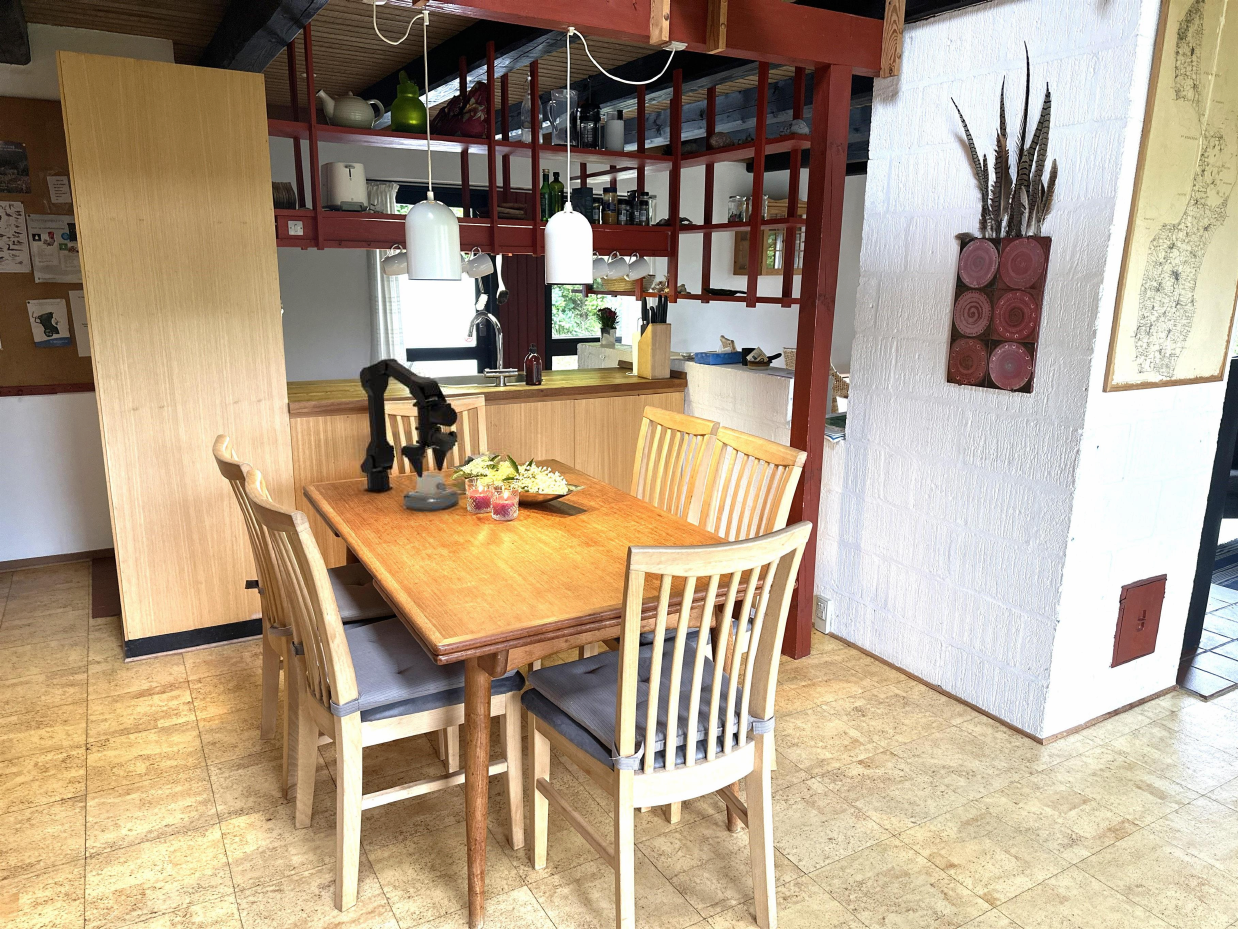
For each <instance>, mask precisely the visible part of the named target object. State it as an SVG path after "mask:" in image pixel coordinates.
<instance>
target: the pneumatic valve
mask: <svg viewBox="0 0 1238 929" xmlns="http://www.w3.org/2000/svg"><path fill="white" fill-rule="evenodd" d="M487 455H488V456H490V457H492V456H498V454H496V453H494V452H493V453H485V452H481V454H476V455H473V454H472V455H467V458H466V460H464V461H463V467H464V466H466V465H468V464H469V463H470V462H472V461H473V460H475V459H478V458H481V457H484V456H487Z"/></svg>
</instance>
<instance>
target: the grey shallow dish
mask: <svg viewBox="0 0 1238 929" xmlns="http://www.w3.org/2000/svg"><path fill="white" fill-rule="evenodd" d="M403 504H404V505H403V506H405V507H406V508H405V507H404V508H405V509H407V508H408V509H407V510H409V509H411V510H410V511H413V510H416V511H415V512H423V511H429V512H440V511H439V510H441V511H445V510H450V509H452V508H455V507H457V506H458V505H459V493H458V491H457V490H455V489H452V488H447V487H446V489H445V490H444V492H443V493H440V494H437V495H435V496H433V495H426V494H420V493H418V492H417V489H414V490H411V491H410V490H409V491H407V492H406V493H404V494H403Z"/></svg>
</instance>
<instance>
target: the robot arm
mask: <svg viewBox="0 0 1238 929" xmlns="http://www.w3.org/2000/svg"><path fill="white" fill-rule="evenodd" d="M390 378H392V379H394V380H395V381H396V382H398V383H400V384H401V385H403V387H406V388H407V389H408V393H409V394H410V396H412V398H413V399H414V400H415V401H414V402H413V403H412V407H413V408H416V409H417V410H416V411H417V412H416V413H417V414H416V415H417V425H415V426H414V431H418V432H417V433H418V439H416V440H415V444H414V443H409V444H405V445H403V446H402V447H401V448H400V455H401V456H404V458H406V459H407V460H408V461H409V463H410V465H411V466H412V468H413V470H414V472H415V474H416V476H418V477H419V478H422V474H424V473H423V472H424V462H423V461H424V459H426V457H427V455H425V454H426V453H427V452H426V451H427V450H431V449H432V452H433V457H434V461H435V466H436V468H437V471H439V472H442V470H443V467H444V464H445V461H446V457H447V454H448V453H449V452H450V451H451V450H453V449H454V447H456V443H458V434H457V433H458V432H457V431H455V430H450V431H448V432H444V431H443V429H442V428H443V427H446V428H447V427H448V428H450V427H451V428H452V427H453V426H455V425H456V422H457V421H458V413H457V411H456V409H455V408H454V407H452V403H451V402H448V401H447V398H446V396H445V394H444V393H443V391H442V389H441V386H440V384H439V383H438V381H437V380H435V379H432V378H430V377H426V376H421V375H418V374H417V373H415V372H414V371H412V370H411V369H409V368H408V367H407V366H404V365H403V364H401V363H400V362H399V361H398V360H397V359H396V358H382V359H381V360H379V361H378V362H376V363H373V364H371V365H368V366H365V367H363V368H362V369H361V370H360V371H359V380H360V385H361V388H362V390H363V391H364V392H365V394H366V396H367V407H368V408H367V409H368V420H369V421H368V422H369V432H370V433H369V435H370V436H369V437H370V441H369V443H368V445H367V447H366V450H365V451H366V452H365V459H364V460H363V462H361V464H360V470H361V472H362V473H364V474H366V483H367V484H366V485H367V487H366V488H365V487H364V488H363V490H364V491H367V492H370V493H371V492H372V493H379V494H380V493H382V492H385V491H388V489H389V490H391V489H393V486H390V484H391V483H390V476H389V471H391V470H392V471H393V468H394V462H395V458H396V455H395V446H394V445H392V444H391V443H390V442H389V441H388V438H387V437H388V435H387V434H388V432H387V422H386V418H387V417H386V407H385V406H386V405H385V404H386V403H385V393H386V391H387V389H388V388H389V383H390V382H389V380H390Z"/></svg>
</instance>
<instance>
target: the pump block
mask: <svg viewBox="0 0 1238 929" xmlns="http://www.w3.org/2000/svg"><path fill="white" fill-rule="evenodd" d="M444 482H445V481H444V474H440V473H435V472H434V473H433V472H425V473H423V474H422V478H419V477H418V475H416V487H417V488H416V490H417V492H418V493H420V494H426V495H433V496H435V495H437V494H440V493H443V492H444V490H445V489H446V488H447V484H446V483H444Z"/></svg>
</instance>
